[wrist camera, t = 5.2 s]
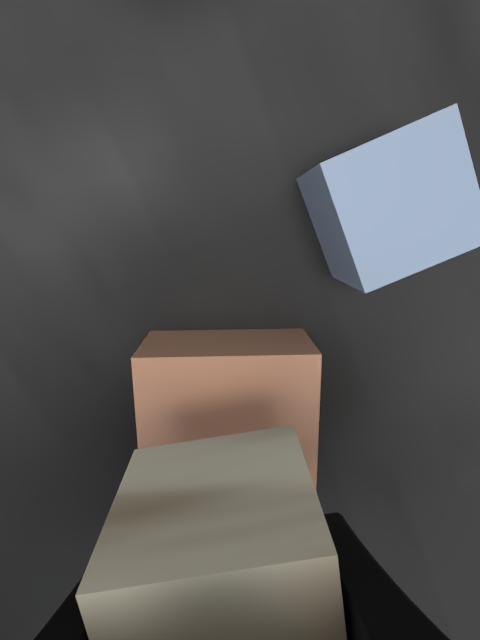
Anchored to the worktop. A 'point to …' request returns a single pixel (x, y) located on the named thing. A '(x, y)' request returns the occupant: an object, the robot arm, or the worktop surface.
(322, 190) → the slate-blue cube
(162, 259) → the worktop surface
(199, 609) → the birch cube
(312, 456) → the terracotta block
